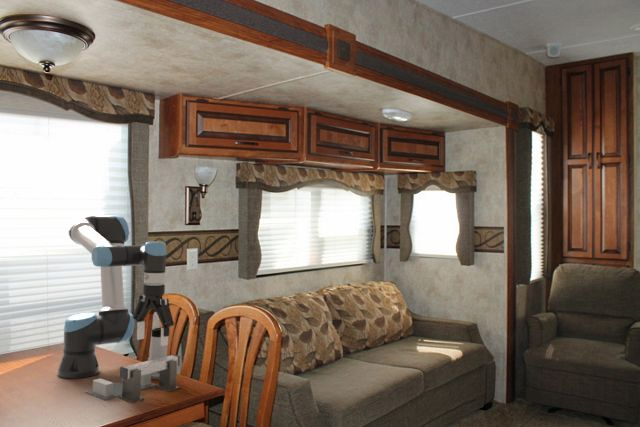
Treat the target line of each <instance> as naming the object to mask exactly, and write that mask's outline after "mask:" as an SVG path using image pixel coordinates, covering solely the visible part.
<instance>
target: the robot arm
mask: <svg viewBox="0 0 640 427" xmlns="http://www.w3.org/2000/svg"><path fill="white" fill-rule="evenodd" d="M68 235H69V238H70V239H71V240H72V241H73V242H74V243H75V244H77V245H81V246H83V248H84V249H86V250H87V251H88V252H89V253H90V254H91V261H92V265H93V266H95V267H97V268H98V267H100V283H101V284H100V285H101V286H100V287H101V304H102V305H101V306H102V307H101V308H100V309H99V311H98V315H97V313H95V312H81V313H77V314H73V315H69V317H67V318H66V319H65V320H64V328H63V353H62V357H61V360H60V363H59V365H58V368H57V376H58V377H60V378H64V379H82V378H89V377H92V376H95V375H97V374H98V373H99V372H100V365H99V362H98V359H97V355H96V346H100V345H108V344H116V343H117V344H118V343H122V342H127V341H128V340H130V339H131V337H132V336H133V333H134V331H135V330H134V329H135V321H136V340H137V341H139V340H144V339H145V333H146V332H145V329H146V328H145V327H146V326H145V325H146V321H145V319H146V317H147V315H148V314H149V312H150V310H152V311H154V312H155V313H156V314H157V316H158V319H159V321H160V323H161V325H162V326H161V327H160V328H161V346H164V345H167V346H168V345H169V336H170V327H174V325H175V323H174V318H173V316H172V311H171V308H170V304H169V299H168V298H163V296H164V295H165V293H166V291H165V290H166V289H165V288H166V285H165V283H166V262H167V244H166V242H164V241H156V240H155V241H146V242H145V244H135V245H125V243H127V241H128V240H129V236H130V230H129V224H128V221H127V220H126V219H125V217H123V216H121V215H115V214H114V215H113V214H109V215H108V214H107V215H105V214H86V215H85V214H84V215H81V216H79V217H77V218H75V219H74V220H73V221H71V223H70V224H69V228H68ZM126 266H127V267H130V266H135V267H137V266H143V273H144V274H143V283H144V284H143V290H142V293H143V294H142V295H139V296H138V302H137V305H136V307H135V310H134V313H133V314H132V312H129V308H128V307H127V306H126V305H125V297H124V283H123V281H124V279H123V267H126Z"/></svg>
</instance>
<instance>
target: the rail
mask: <svg viewBox="0 0 640 427" xmlns="http://www.w3.org/2000/svg"><path fill="white" fill-rule="evenodd" d="M180 360H181V356H180V355H176V354H171V355H167V356H166V357H162V358H158V359H154V360H151V359H150V360H146V361H142V362H138V363H133V364H128V365H125V366H120V367H119V375H118V376H119V378H120V379H122V380H123V379H125V380H126V379H130V378H132V371H136V370H141V375H145V374H149V373H153V372H157V371H161V370H164V369H168V368H169V362H172V361H177V367H179V366H180Z"/></svg>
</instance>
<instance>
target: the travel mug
mask: <svg viewBox="0 0 640 427" xmlns="http://www.w3.org/2000/svg"><path fill="white" fill-rule="evenodd" d="M150 340H151V342H150V360H154V359H158V358H162V357H166V356H168V345H164V346H161V327H156V328H153V329H151V339H150ZM159 375H160V371H157V372H153V373H151V378H150V380H159Z"/></svg>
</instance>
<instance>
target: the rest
mask: <svg viewBox="0 0 640 427" xmlns="http://www.w3.org/2000/svg"><path fill="white" fill-rule="evenodd" d="M156 385H158V384H157V383H153V382H151V373H149V374H145V375H141V386H140V391H143V390H147V389H150V388H154V387H155V386H156ZM122 387H123V381H121V382H117V383H114V382H113V381H109V380H106V379H103V378H96V379H93V380H92V389H90V390H86V391H85V394H88V395H91V396H93V397H95V398H98V399H100V400H103V401H108V400H111V399H114V398H118V396H120V395H122Z"/></svg>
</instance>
